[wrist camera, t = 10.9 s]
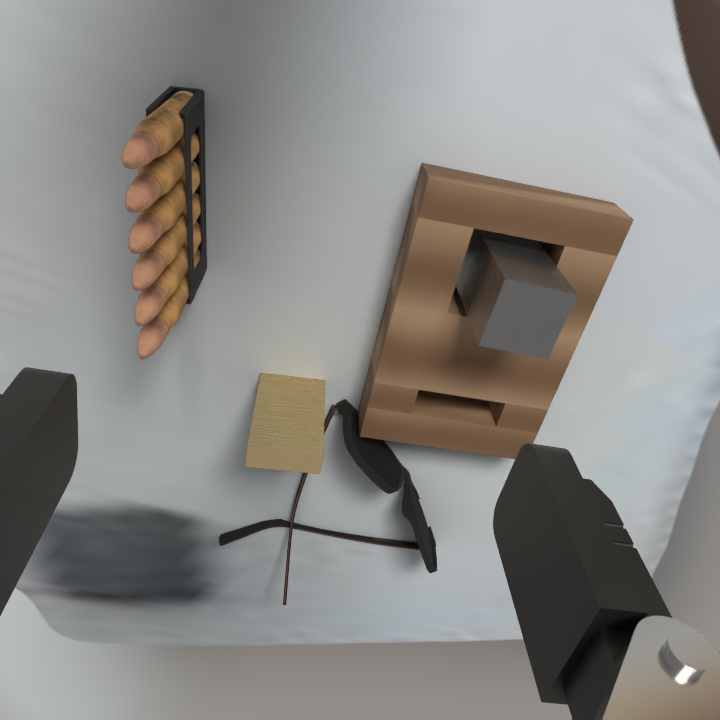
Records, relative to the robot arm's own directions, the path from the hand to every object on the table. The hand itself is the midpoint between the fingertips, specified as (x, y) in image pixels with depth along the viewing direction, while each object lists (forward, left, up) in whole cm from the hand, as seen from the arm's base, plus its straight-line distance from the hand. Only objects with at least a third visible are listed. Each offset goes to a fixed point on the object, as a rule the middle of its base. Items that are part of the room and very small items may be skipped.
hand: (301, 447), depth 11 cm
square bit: (+6, +12, -28) cm, 31 cm away
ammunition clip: (+5, -7, -28) cm, 30 cm away
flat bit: (+18, +1, -28) cm, 33 cm away
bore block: (+10, +12, -28) cm, 32 cm away
